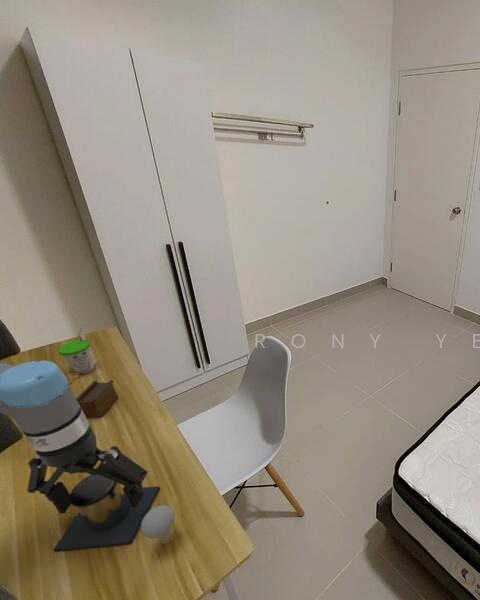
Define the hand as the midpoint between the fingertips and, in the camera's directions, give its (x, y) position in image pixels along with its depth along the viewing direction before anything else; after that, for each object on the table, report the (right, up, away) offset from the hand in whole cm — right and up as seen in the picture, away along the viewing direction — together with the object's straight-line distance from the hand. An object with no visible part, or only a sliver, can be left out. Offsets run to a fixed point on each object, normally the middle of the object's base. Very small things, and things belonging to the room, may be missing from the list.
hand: (103, 504), depth 70 cm
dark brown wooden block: (-26, +11, +29) cm, 41 cm away
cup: (-45, +20, +42) cm, 64 cm away
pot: (0, +1, 0) cm, 1 cm away
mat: (0, -4, +2) cm, 5 cm away
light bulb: (+15, -7, -1) cm, 16 cm away
